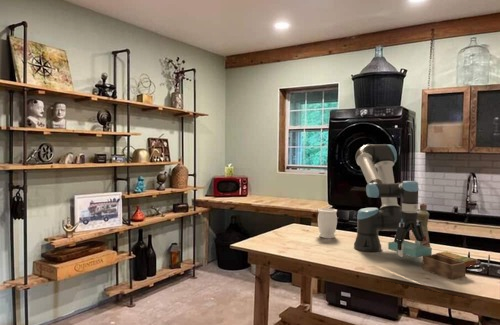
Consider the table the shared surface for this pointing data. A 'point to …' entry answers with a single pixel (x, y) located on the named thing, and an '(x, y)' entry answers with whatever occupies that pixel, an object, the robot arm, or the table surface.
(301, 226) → the table surface
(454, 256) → the carton
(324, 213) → the jar
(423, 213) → the bottle
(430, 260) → the crate
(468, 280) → the table surface
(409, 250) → the lid
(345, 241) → the table surface
